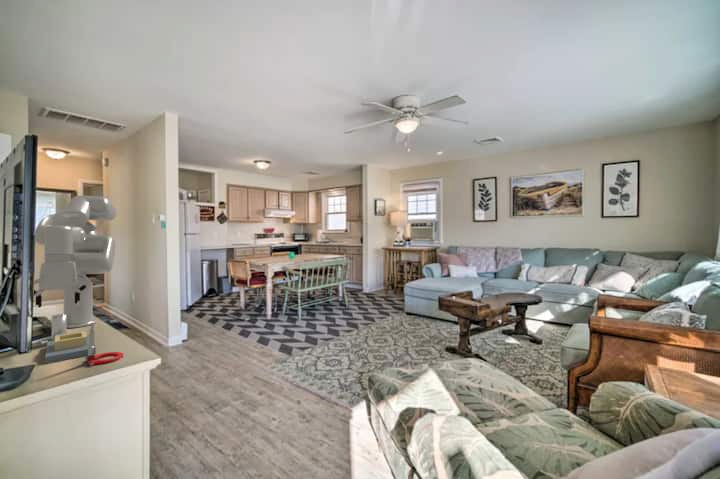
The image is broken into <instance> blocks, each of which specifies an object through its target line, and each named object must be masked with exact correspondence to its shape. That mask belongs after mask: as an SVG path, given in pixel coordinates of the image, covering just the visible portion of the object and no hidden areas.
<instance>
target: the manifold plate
mask: <svg viewBox="0 0 720 479" xmlns="http://www.w3.org/2000/svg"><path fill="white" fill-rule="evenodd" d="M88 347H89V334H87V332H86V330H85V331H78V332H72V333H67V334H64V335H57V336H55V341H52V340H51V341H47V342H46V348H45V349H46V350H45V357H44V358H45V359H44V360H45V362H44V364H50V363H54V362H55V363H56V362H59V361H64V360H70V359H75V358H80V357H87V352H88ZM94 355H96V344H95V343H94Z"/></svg>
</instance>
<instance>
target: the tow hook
mask: <svg viewBox="0 0 720 479" xmlns="http://www.w3.org/2000/svg"><path fill="white" fill-rule="evenodd" d="M95 330H96V329H95V323H94V322H92V323H91V325H90V329H89V334H88V335H89V347H88V352H87V355H86V356H85V362H86V363H87V364H88V365H89V366H90V367H94V366H95V365H99V364H108V363H113V362H116V360H117V361H119V360H121V359H123V358H124V352H123V353H122V352H120V351H111V352H110V351H109V352H103V353H99V354H94V344H95ZM113 355H116V356H113ZM108 356H109V357H111V356H113V357H111V358H107V359H100V358H104V357H108ZM120 358H121V359H120Z"/></svg>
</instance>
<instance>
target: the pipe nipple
mask: <svg viewBox="0 0 720 479" xmlns="http://www.w3.org/2000/svg"><path fill="white" fill-rule="evenodd" d="M67 330H68V328H67V314H64V313H59V314H53V315H51V341H55V336H57V335H64V334H68V333H67Z"/></svg>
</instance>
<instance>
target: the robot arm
mask: <svg viewBox="0 0 720 479" xmlns="http://www.w3.org/2000/svg"><path fill="white" fill-rule="evenodd" d="M116 216H117V208H116V206H115V205H114V204H113V202H112V201H111V200H110V199H109V198H108V197H104V196H97V195H96V196H94V195H75V196H73V197H71V199H70V200H69V202H68V203H67V205H66V206H65V208H64V209H63V210H62V211H59V212H56V213H54V214H51V215H47V216H46V217H44V218H43V219H41V221H40V222H39V223H38V224H37V226H36V228H35V231H34V233H35V237H34V240H35V241H36V243H38V244H39V245H42V246H44V259H43V260H44V262H42V263H41V264H40V268H39V275H38V276H39V278H38V279H35V280H33V281H34V285H33V286H35V285H37V284H38V287H39V289H38V290H35V289H34V295H33V296H34V297H35V306H37V307H38V308H42V307H43V306H42V302H43V301H42V298H43V296H42V294H43V293H44V292H45V291H55V290H57V291H58V290H59V291H60V290H63V314H67V329H72V328H81V327H86V326H91V323H92V322H94V324H96V323H97V322H98V318H96V317H94V316H93V315H94V314H93V311H94V310H93V307H94V306H93V305H94V302H93V301H94V300H93V293H94V292H93V288H94V287H93V285H94V284H93V282H92V280H91V279H90V278H89V277H88V276H87V275H94V274H95V275H97V274H98V275H99V274H102V275H103V274H107V273H110V272H111V271H112V269H113V266H114V261H115V260H114V258H115V254H116V241H115V239H114V237H113V236H110V235H106V234H105V235H103V234H102V235H99V229H98V228H97V227H96V225H94V224H93V223H92V222H90V221H113V220H114V219H115V218H116Z"/></svg>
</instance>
